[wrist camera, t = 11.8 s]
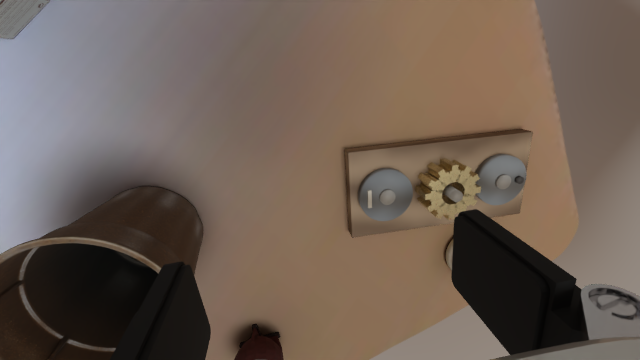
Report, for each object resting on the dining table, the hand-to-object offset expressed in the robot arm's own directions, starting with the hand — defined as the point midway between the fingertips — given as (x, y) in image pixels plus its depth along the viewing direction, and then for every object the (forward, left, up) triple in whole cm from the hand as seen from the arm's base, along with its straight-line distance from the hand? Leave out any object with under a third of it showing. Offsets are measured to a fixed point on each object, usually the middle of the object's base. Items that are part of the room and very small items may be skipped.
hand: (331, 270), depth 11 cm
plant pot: (+12, -19, -30) cm, 37 cm away
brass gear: (+9, +19, -27) cm, 35 cm away
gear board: (+10, +19, -29) cm, 36 cm away
